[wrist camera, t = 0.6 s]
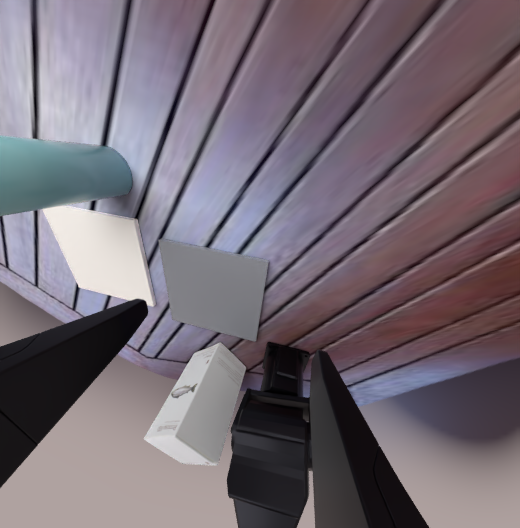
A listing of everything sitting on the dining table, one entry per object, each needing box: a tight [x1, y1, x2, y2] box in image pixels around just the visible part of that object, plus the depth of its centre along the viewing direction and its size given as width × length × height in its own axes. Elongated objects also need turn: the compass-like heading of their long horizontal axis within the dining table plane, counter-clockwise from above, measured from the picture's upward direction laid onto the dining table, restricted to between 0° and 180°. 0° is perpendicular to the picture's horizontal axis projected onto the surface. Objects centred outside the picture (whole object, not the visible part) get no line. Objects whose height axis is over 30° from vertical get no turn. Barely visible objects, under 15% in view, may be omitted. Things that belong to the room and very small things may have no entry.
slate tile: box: [159, 239, 269, 342], centre depth 26 cm, size 14×14×1 cm
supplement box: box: [144, 342, 246, 465], centre depth 28 cm, size 7×7×13 cm
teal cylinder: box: [0, 136, 132, 216], centre depth 15 cm, size 5×5×13 cm
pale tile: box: [42, 205, 156, 307], centre depth 27 cm, size 14×14×1 cm
